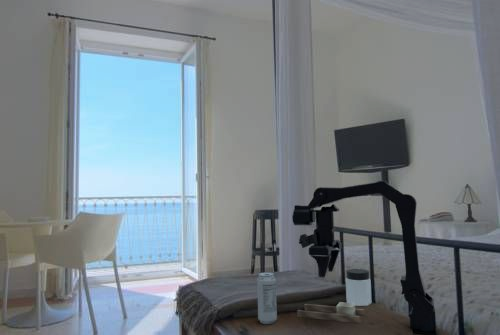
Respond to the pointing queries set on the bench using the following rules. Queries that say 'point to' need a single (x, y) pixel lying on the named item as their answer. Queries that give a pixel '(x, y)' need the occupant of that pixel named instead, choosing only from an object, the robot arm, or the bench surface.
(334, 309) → the chute
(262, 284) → the energy drink can
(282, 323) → the bench surface
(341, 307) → the block
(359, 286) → the jar
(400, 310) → the bench surface
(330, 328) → the bench surface
